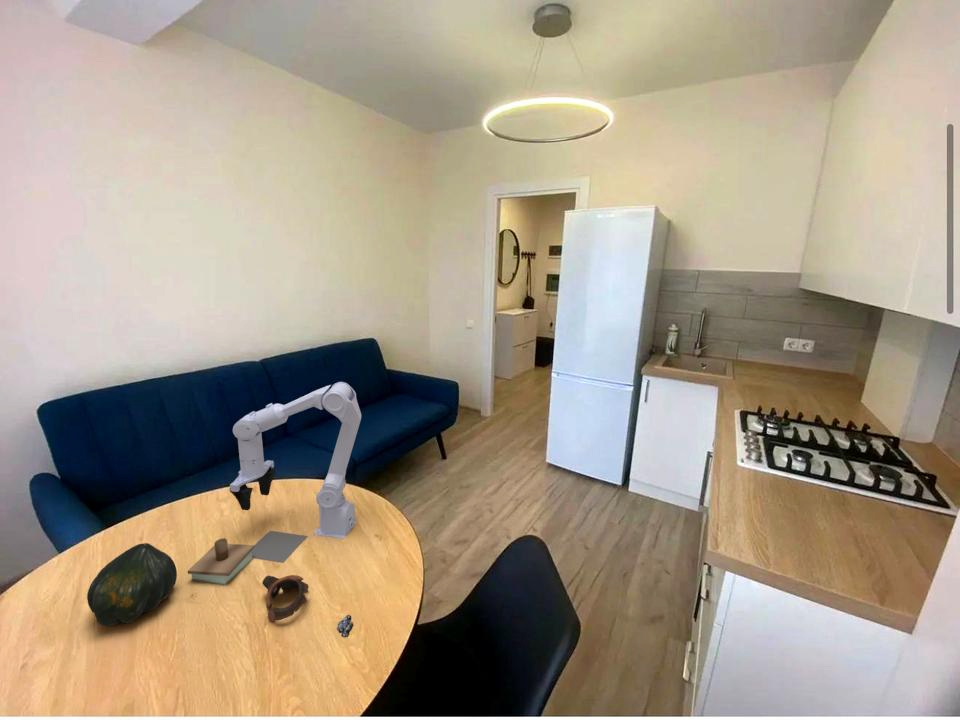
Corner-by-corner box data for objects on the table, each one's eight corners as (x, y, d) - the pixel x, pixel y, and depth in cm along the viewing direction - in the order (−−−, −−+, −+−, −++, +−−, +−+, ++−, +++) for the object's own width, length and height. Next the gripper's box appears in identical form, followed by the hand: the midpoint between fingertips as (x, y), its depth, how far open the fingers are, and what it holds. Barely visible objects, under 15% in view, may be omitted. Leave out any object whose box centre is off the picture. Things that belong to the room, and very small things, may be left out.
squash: (51, 622, 77) (106, 562, 77) (101, 570, 91) (147, 520, 92) (123, 651, 81) (174, 594, 82) (160, 598, 95) (203, 550, 96)
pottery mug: (321, 593, 93) (315, 580, 88) (293, 636, 86) (285, 626, 81) (279, 571, 96) (272, 557, 90) (249, 611, 89) (239, 599, 83)
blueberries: (363, 611, 89) (362, 604, 89) (365, 639, 82) (365, 630, 81) (331, 620, 87) (331, 612, 86) (331, 649, 79) (330, 640, 79)
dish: (252, 560, 102) (251, 550, 102) (225, 586, 93) (224, 575, 93) (222, 555, 103) (220, 545, 103) (192, 581, 95) (190, 570, 94)
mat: (308, 537, 112) (308, 536, 112) (283, 564, 101) (283, 562, 101) (270, 531, 114) (270, 530, 114) (241, 557, 103) (241, 556, 103)
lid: (254, 547, 103) (252, 530, 102) (228, 576, 93) (226, 556, 92) (217, 545, 103) (215, 528, 102) (187, 573, 93) (185, 554, 92)
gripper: (257, 445, 116) (260, 487, 119) (217, 467, 102) (223, 514, 105) (278, 447, 115) (282, 489, 118) (242, 470, 101) (246, 517, 104)
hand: (255, 501), depth 111 cm, fingers open, 7 cm apart
